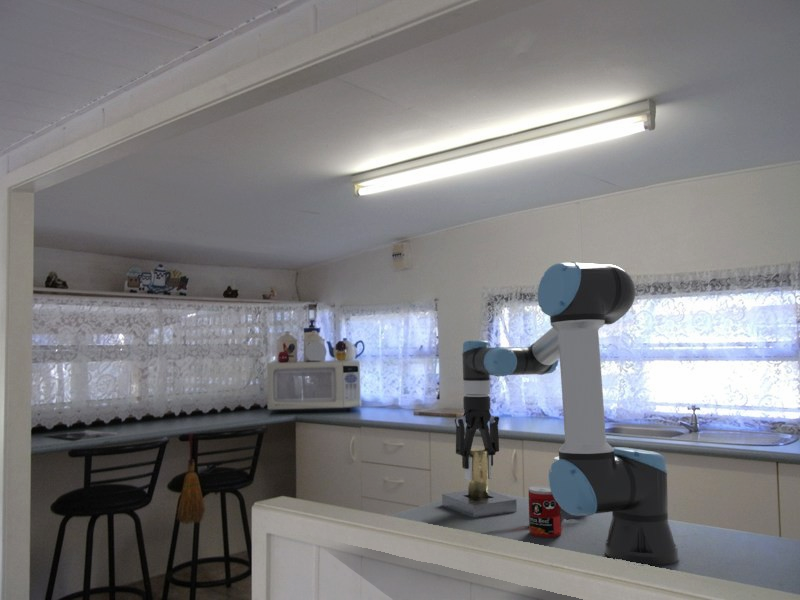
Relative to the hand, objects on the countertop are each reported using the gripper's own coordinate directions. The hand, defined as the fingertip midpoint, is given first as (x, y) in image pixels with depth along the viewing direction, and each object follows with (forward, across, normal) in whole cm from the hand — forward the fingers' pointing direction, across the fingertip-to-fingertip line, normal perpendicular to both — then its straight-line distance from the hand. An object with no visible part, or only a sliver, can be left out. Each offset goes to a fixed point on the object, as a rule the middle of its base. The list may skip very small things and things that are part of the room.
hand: (478, 479), depth 189 cm
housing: (+9, 0, 0) cm, 9 cm away
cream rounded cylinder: (+5, 0, 0) cm, 5 cm away
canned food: (+10, -3, +25) cm, 27 cm away
